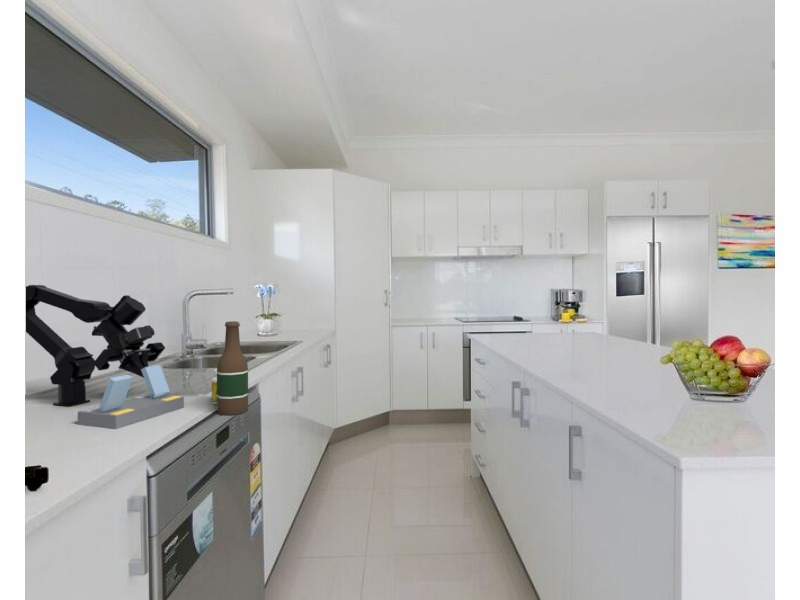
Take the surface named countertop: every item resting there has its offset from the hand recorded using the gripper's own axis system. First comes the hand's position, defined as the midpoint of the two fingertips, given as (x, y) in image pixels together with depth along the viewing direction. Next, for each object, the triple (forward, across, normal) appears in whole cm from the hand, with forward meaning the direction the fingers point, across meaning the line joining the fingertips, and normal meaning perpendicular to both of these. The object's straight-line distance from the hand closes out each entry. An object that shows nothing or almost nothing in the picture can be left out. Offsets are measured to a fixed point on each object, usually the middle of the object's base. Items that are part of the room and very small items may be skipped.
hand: (148, 377), depth 127 cm
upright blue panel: (+6, -15, 0) cm, 16 cm away
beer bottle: (+24, +3, -12) cm, 27 cm away
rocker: (+6, 0, 0) cm, 6 cm away
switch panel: (+8, -8, +4) cm, 12 cm away
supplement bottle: (+17, +11, -5) cm, 21 cm away
